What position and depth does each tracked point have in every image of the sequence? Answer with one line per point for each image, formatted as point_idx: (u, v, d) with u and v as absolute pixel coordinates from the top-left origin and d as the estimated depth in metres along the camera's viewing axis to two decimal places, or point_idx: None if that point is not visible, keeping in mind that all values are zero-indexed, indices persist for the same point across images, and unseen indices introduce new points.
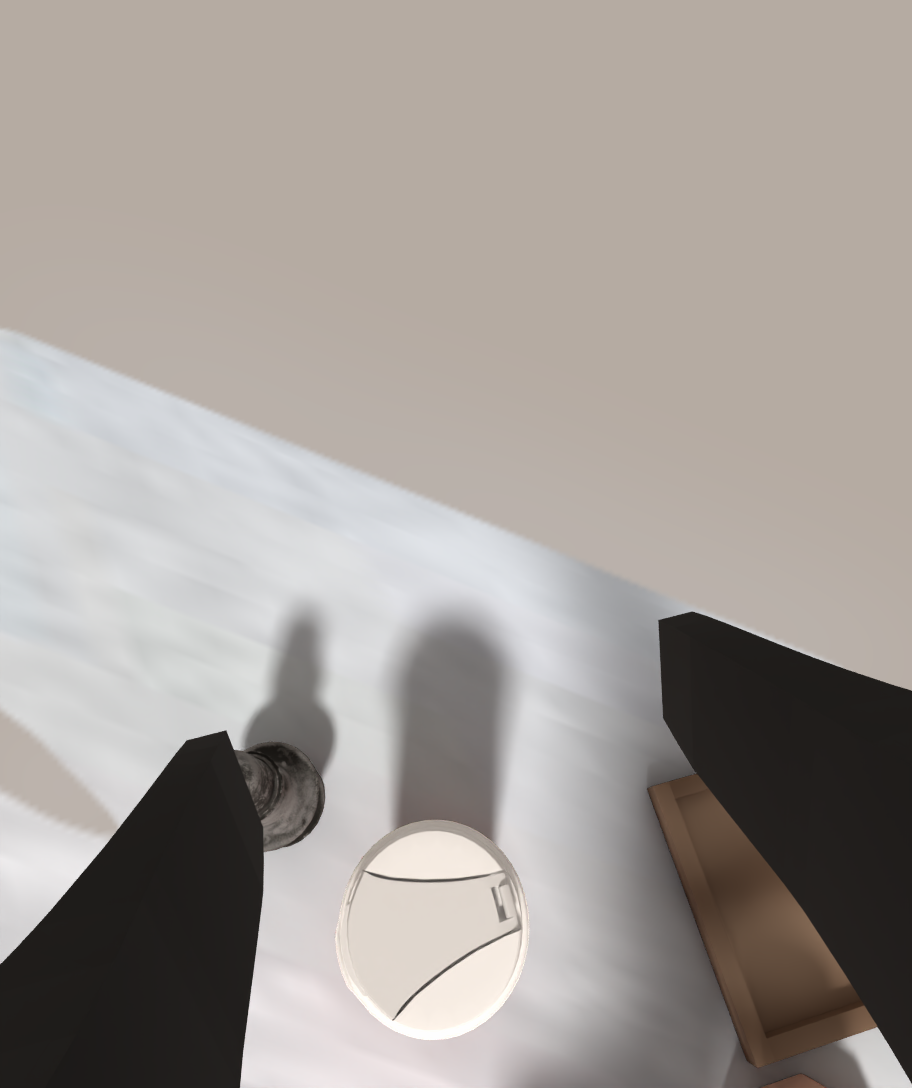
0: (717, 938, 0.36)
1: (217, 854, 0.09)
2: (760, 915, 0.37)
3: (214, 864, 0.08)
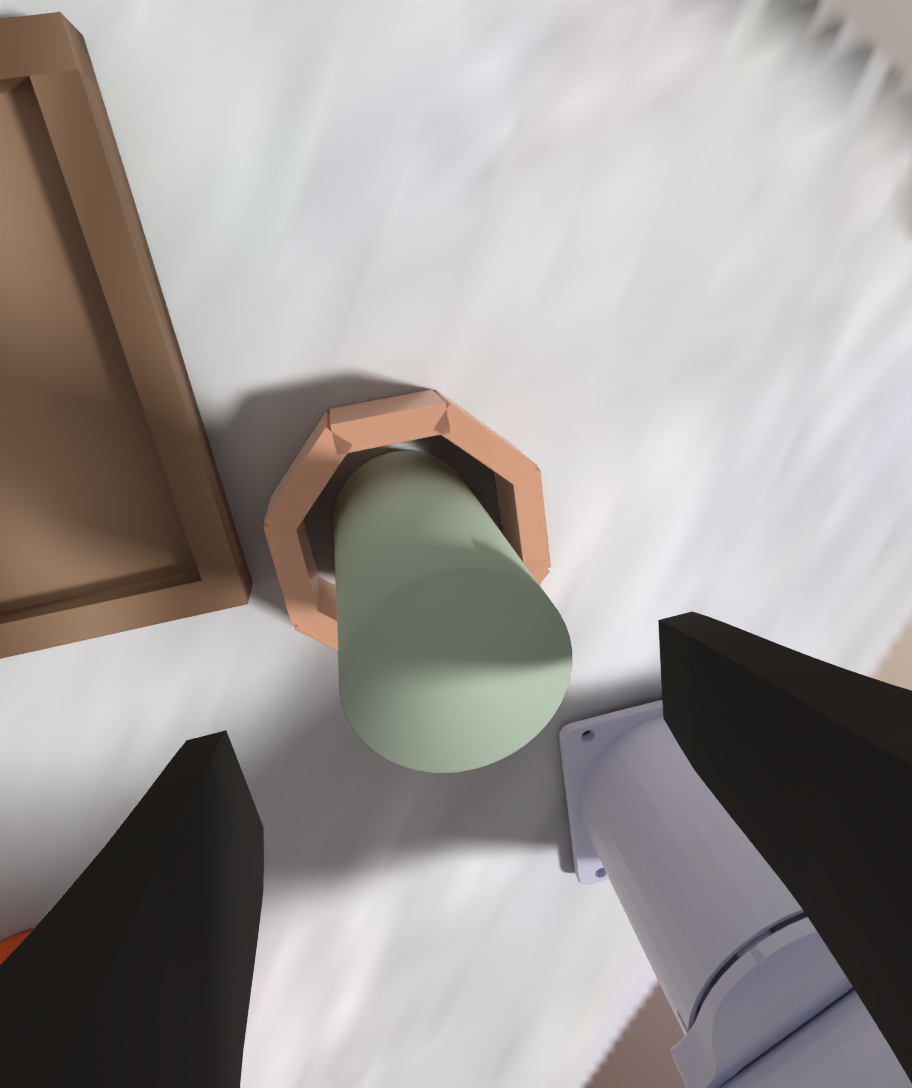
0: (34, 636, 0.18)
1: (217, 854, 0.09)
2: None
3: (213, 865, 0.08)
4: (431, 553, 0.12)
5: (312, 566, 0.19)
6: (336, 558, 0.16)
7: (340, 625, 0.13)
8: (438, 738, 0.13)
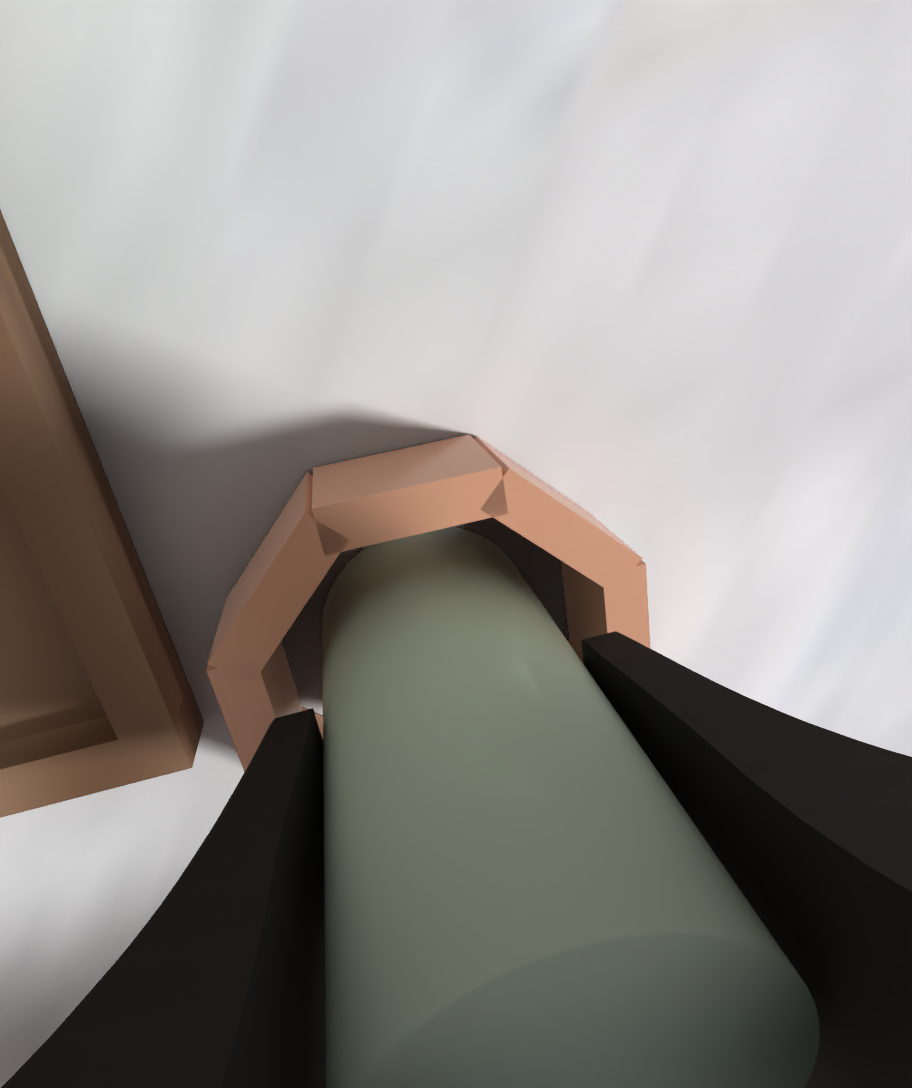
0: None
1: (318, 826, 0.09)
2: None
3: (316, 836, 0.08)
4: (525, 859, 0.06)
5: (291, 704, 0.13)
6: (324, 737, 0.10)
7: (329, 975, 0.06)
8: None
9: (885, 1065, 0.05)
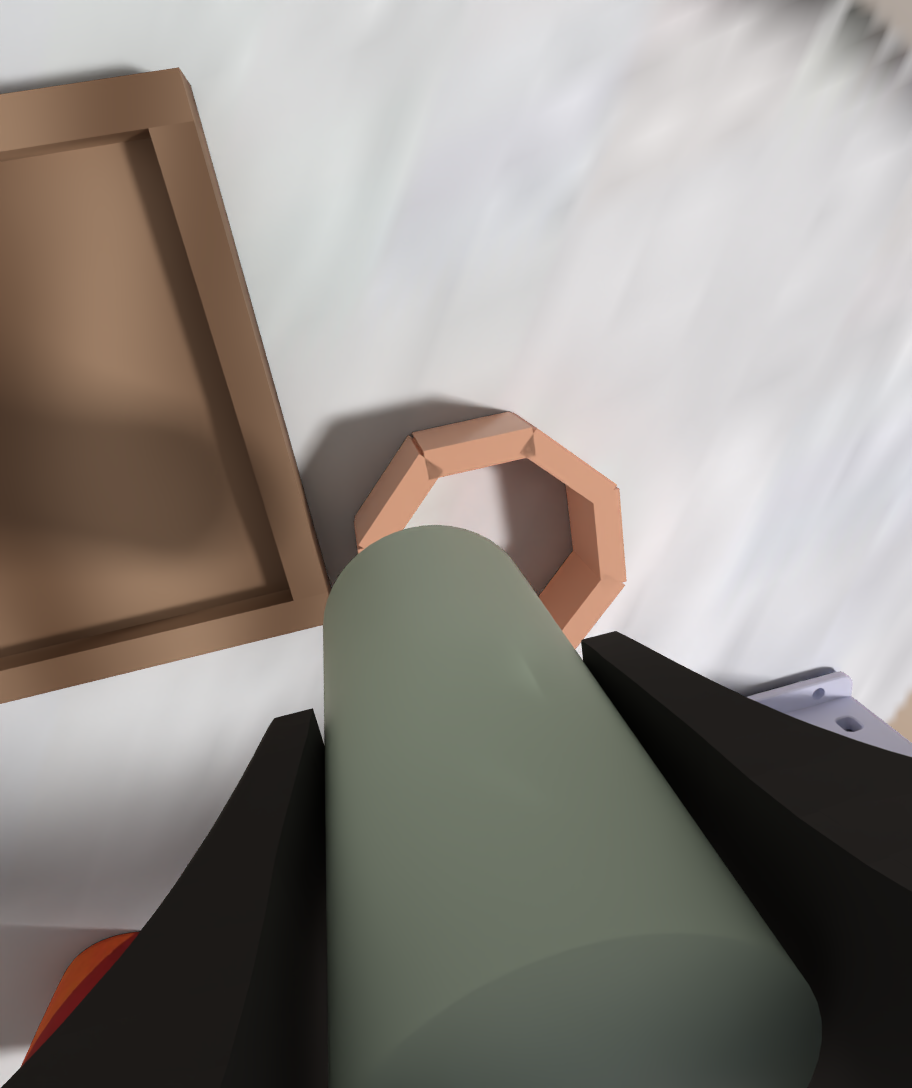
0: (135, 657, 0.19)
1: (317, 826, 0.09)
2: (93, 550, 0.18)
3: (316, 836, 0.08)
4: (527, 859, 0.06)
5: None
6: (326, 737, 0.10)
7: (332, 975, 0.06)
8: None
9: (885, 1066, 0.05)
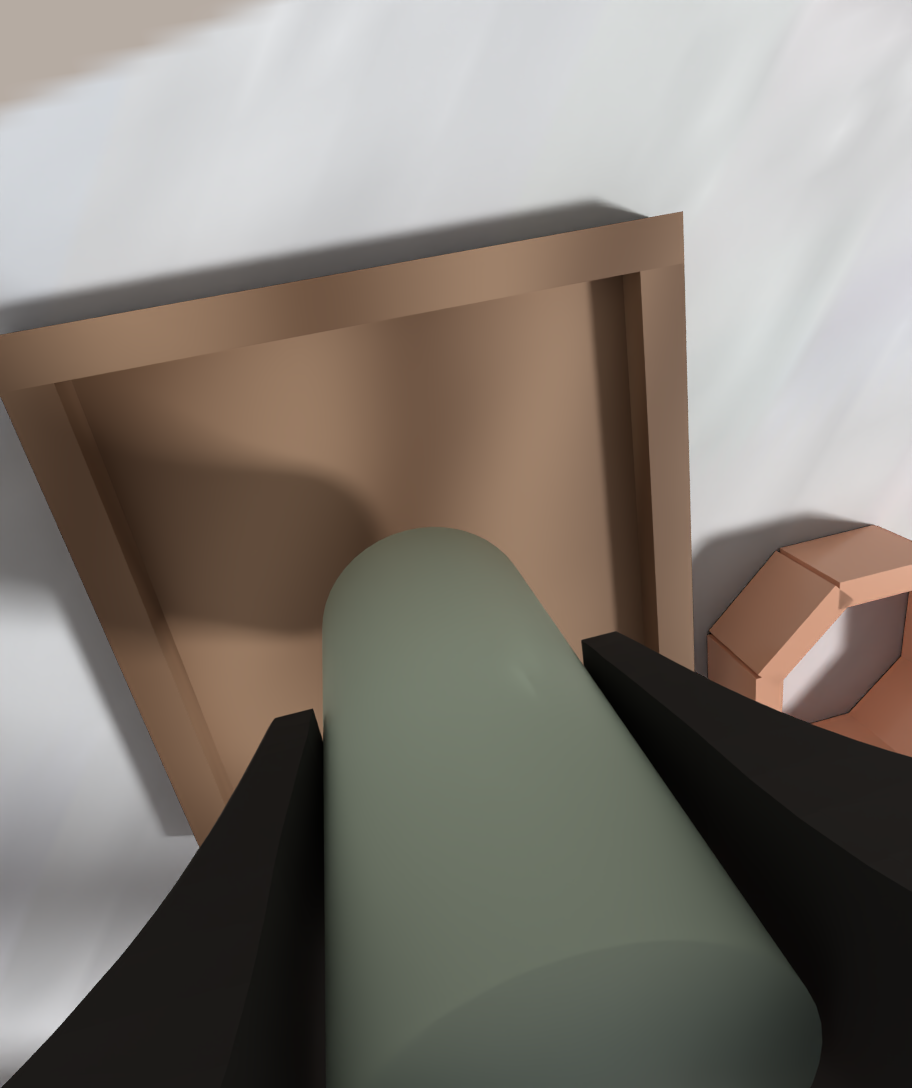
0: None
1: (318, 826, 0.09)
2: None
3: (316, 836, 0.08)
4: (520, 867, 0.06)
5: None
6: (324, 744, 0.10)
7: (328, 986, 0.06)
8: None
9: (885, 1066, 0.05)
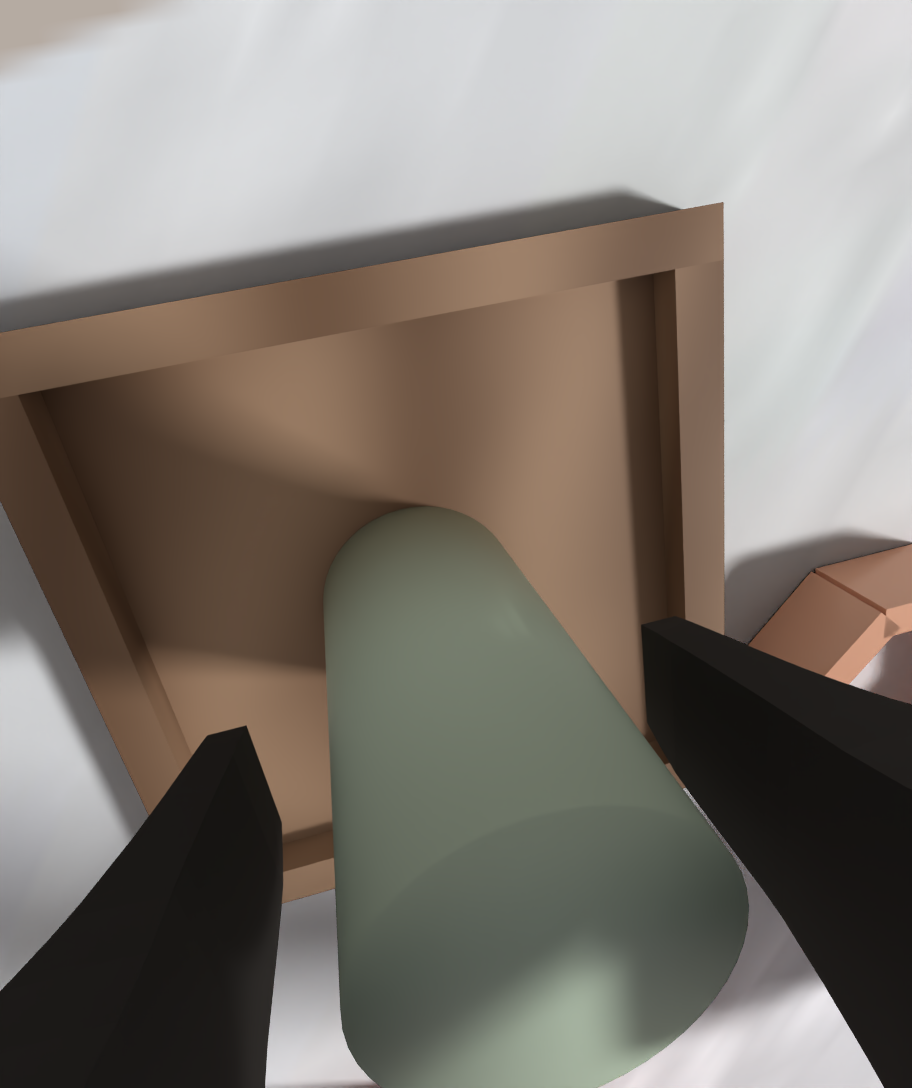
0: None
1: (241, 848, 0.09)
2: None
3: (237, 858, 0.08)
4: (497, 759, 0.07)
5: None
6: (328, 693, 0.11)
7: (338, 871, 0.07)
8: (518, 1066, 0.07)
9: None
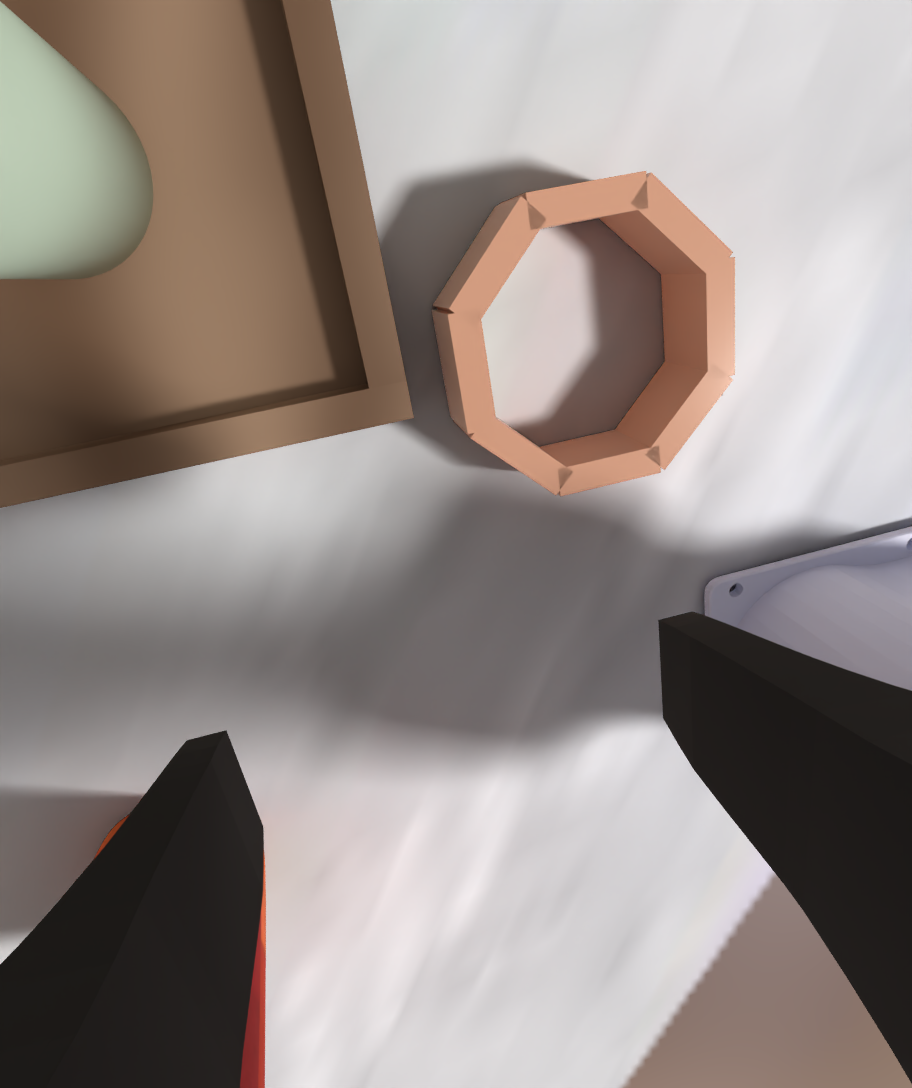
0: (193, 449, 0.17)
1: (217, 854, 0.09)
2: (146, 323, 0.16)
3: (213, 865, 0.08)
4: None
5: None
6: None
7: None
8: None
9: None
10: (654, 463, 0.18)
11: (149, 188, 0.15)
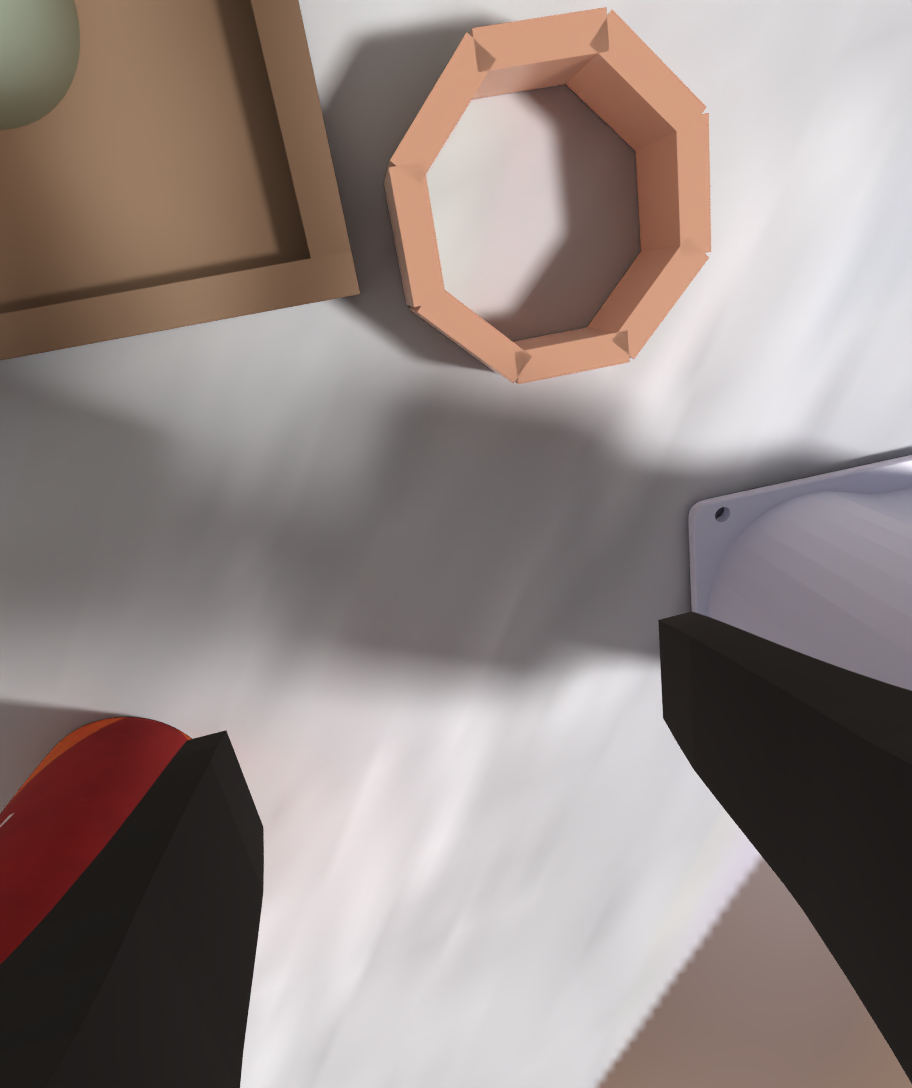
0: (123, 318, 0.16)
1: (217, 854, 0.09)
2: (76, 182, 0.16)
3: (213, 865, 0.08)
4: None
5: None
6: None
7: None
8: None
9: None
10: (622, 351, 0.17)
11: (73, 26, 0.14)
